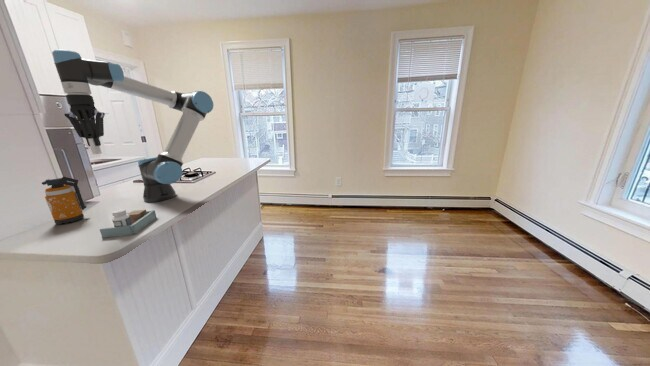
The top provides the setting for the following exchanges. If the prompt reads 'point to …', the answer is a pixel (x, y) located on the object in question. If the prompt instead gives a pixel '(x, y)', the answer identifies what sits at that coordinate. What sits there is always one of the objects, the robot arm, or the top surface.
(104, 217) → the top surface
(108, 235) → the box
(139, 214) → the tan block
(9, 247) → the top surface
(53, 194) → the canister
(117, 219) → the pill bottle
